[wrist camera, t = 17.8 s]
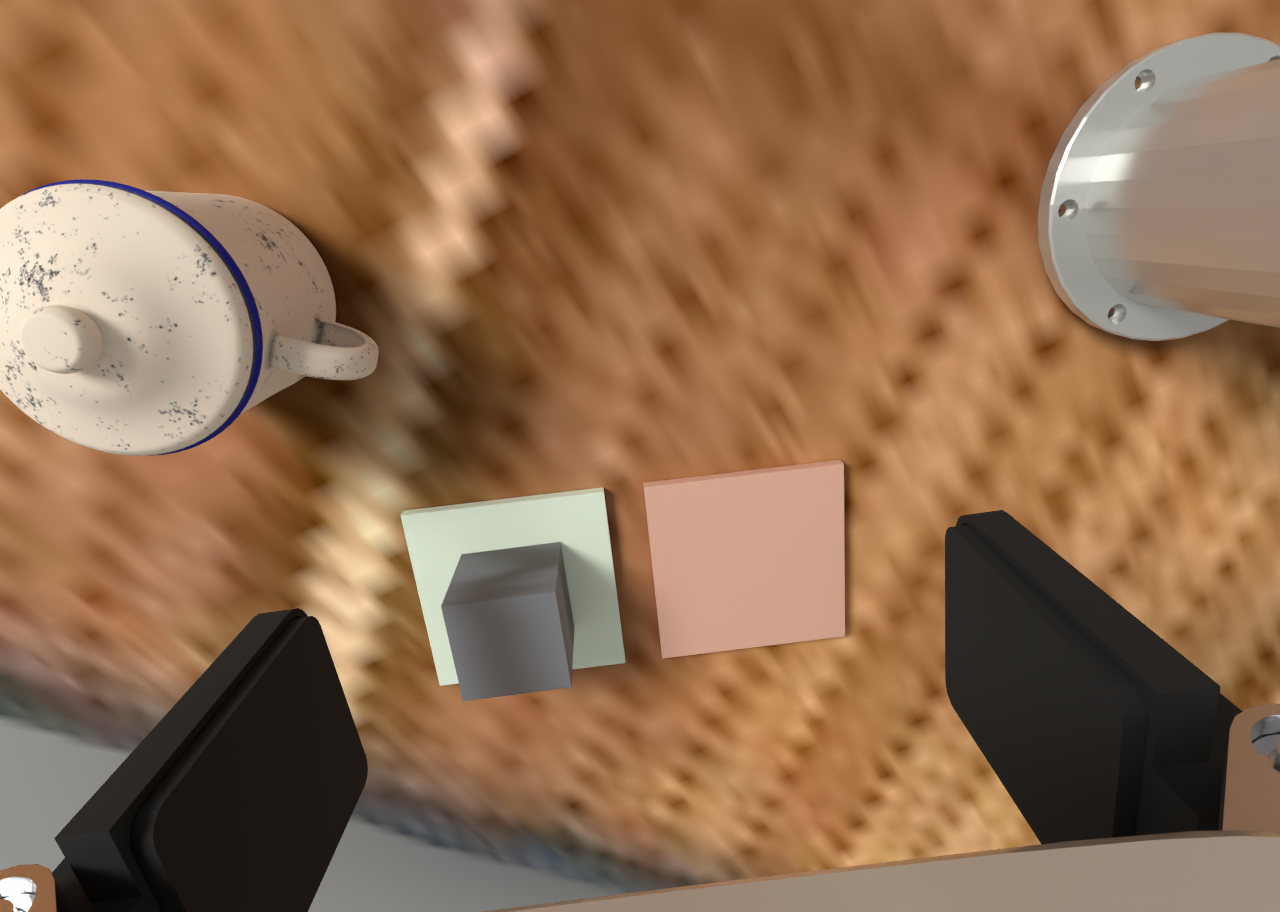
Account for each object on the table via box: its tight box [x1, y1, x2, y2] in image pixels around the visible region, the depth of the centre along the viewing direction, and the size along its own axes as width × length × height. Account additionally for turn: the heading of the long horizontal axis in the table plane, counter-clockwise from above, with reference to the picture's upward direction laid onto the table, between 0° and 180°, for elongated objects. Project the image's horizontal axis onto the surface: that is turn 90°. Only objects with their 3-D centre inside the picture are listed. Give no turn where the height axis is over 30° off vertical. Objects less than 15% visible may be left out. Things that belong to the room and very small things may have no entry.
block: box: [441, 542, 574, 701], centre depth 34 cm, size 5×5×5 cm
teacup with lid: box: [0, 180, 379, 455], centre depth 26 cm, size 12×9×12 cm
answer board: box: [401, 460, 845, 686], centre depth 37 cm, size 22×10×1 cm, turn 96°
